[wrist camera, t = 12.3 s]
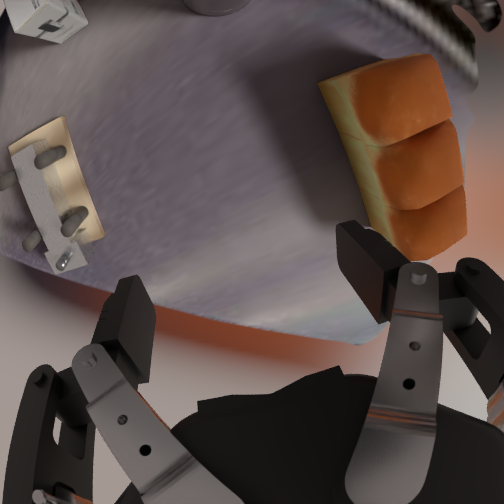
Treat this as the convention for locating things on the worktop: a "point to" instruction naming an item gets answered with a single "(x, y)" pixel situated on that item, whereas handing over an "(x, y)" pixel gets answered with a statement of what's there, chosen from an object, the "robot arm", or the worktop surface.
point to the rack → (68, 175)
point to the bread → (402, 151)
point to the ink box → (46, 18)
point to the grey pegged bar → (51, 210)
